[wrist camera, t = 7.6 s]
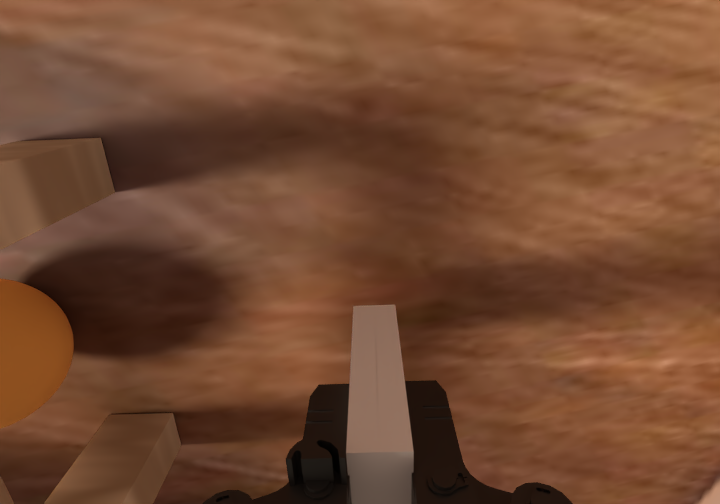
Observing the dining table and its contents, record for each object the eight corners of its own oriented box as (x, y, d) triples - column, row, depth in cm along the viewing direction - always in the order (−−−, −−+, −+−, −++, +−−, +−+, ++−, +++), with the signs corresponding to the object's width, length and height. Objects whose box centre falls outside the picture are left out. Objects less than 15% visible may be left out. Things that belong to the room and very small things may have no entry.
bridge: (101, 137, 16) (-210, 220, 7) (181, 445, 21) (59, 696, 13) (17, 141, 16) (-386, 227, 7) (120, 446, 21) (-42, 696, 13)
